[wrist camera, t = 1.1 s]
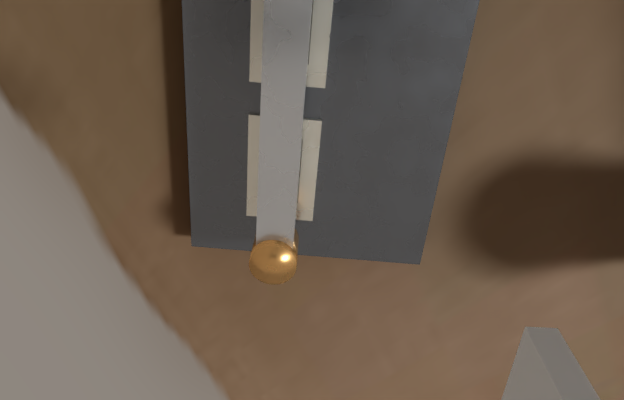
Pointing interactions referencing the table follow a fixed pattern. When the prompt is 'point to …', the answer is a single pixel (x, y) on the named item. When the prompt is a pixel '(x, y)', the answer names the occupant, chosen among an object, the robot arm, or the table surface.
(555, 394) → the robot arm
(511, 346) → the table surface
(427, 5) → the server tray
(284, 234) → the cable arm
